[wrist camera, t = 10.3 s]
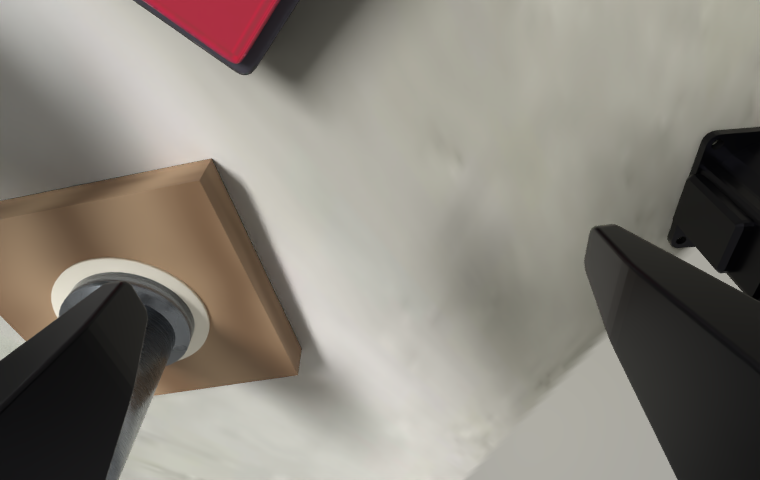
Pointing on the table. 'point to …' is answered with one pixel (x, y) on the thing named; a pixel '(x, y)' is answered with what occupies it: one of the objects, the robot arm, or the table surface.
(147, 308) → the housing
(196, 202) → the stand
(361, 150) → the table surface
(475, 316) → the table surface
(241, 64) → the red and white box
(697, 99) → the table surface
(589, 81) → the table surface
